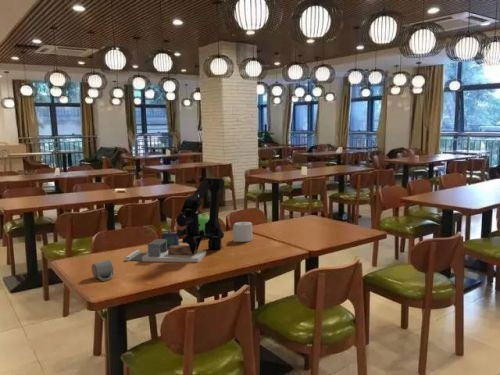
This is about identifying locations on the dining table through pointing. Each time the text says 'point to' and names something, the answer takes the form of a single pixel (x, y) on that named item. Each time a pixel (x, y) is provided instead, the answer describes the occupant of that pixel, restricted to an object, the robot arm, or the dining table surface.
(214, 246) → the robot arm
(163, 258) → the platform
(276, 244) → the dining table surface
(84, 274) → the dining table surface
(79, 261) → the dining table surface
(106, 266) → the ceramic mug
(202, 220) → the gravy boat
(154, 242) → the tunnel
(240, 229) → the toilet tissue
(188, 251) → the walnut bar
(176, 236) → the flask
